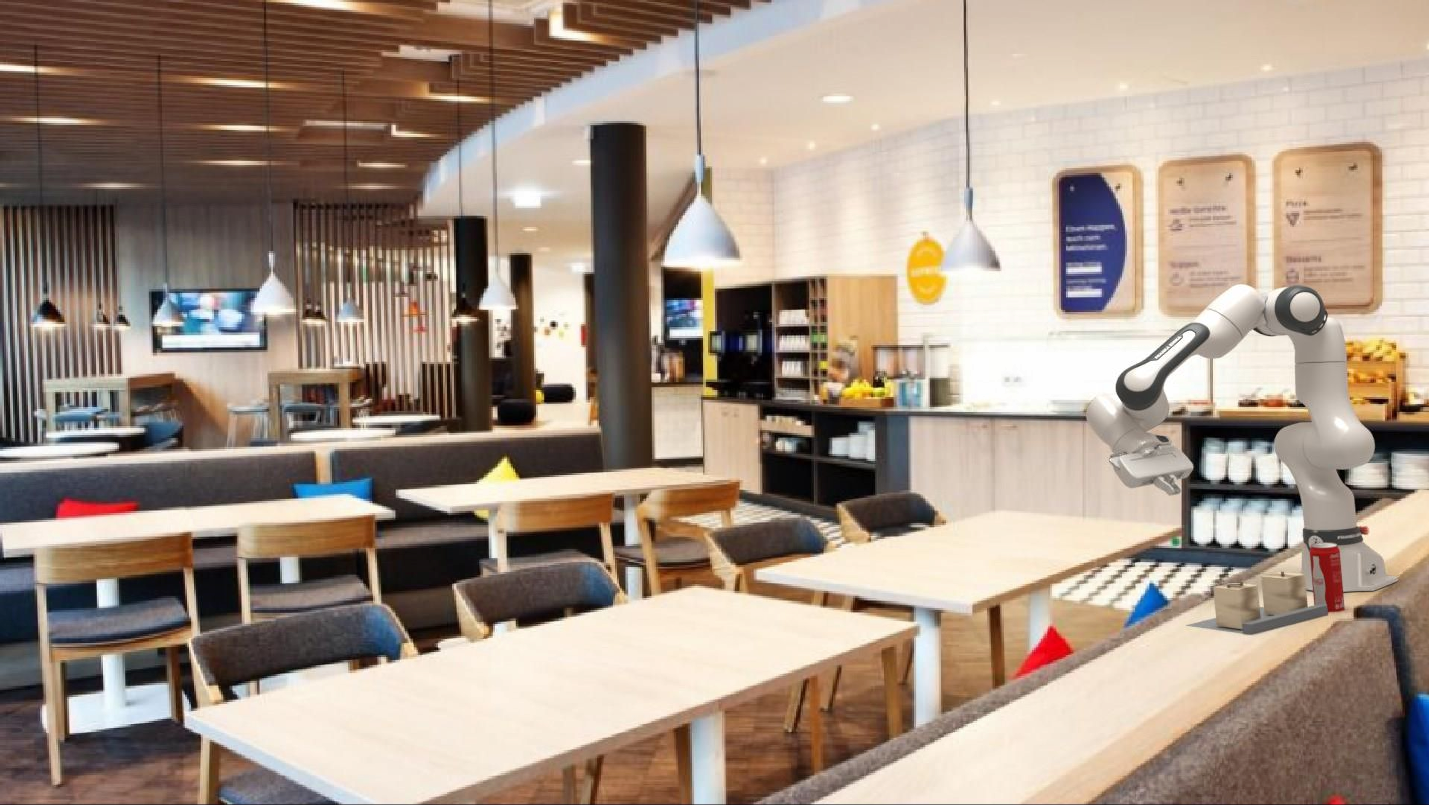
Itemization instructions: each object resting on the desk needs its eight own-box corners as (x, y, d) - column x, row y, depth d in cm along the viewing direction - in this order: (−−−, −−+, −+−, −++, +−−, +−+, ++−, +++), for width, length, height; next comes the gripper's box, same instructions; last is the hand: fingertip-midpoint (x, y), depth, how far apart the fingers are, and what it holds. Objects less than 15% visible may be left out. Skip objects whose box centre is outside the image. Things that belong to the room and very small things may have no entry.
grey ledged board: (1261, 611, 266) (1259, 597, 266) (1328, 619, 252) (1327, 605, 252) (1186, 630, 255) (1184, 615, 255) (1252, 639, 241) (1250, 624, 241)
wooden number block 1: (1282, 609, 260) (1279, 570, 260) (1308, 612, 255) (1304, 572, 255) (1264, 613, 258) (1260, 574, 258) (1289, 617, 252) (1286, 576, 252)
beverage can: (1338, 610, 260) (1332, 540, 260) (1351, 616, 254) (1344, 544, 254) (1309, 612, 261) (1303, 543, 261) (1321, 618, 254) (1315, 546, 254)
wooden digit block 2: (1236, 620, 253) (1232, 580, 253) (1261, 624, 248) (1257, 583, 248) (1216, 625, 250) (1212, 585, 250) (1241, 629, 245) (1237, 587, 245)
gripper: (1111, 446, 274) (1150, 489, 266) (1173, 435, 284) (1213, 477, 276) (1098, 465, 278) (1137, 509, 270) (1160, 454, 288) (1199, 496, 280)
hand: (1176, 493), depth 273 cm, fingers closed
